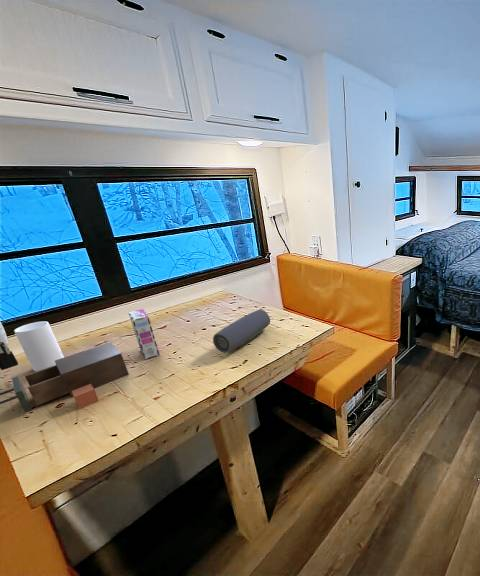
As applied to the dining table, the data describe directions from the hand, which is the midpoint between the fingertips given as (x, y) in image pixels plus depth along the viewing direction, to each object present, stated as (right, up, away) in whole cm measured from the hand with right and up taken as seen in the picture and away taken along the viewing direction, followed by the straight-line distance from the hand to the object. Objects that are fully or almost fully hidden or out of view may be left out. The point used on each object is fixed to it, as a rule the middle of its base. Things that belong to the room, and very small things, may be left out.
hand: (9, 366), depth 85 cm
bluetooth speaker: (+48, 0, +41) cm, 63 cm away
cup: (-19, -7, +27) cm, 34 cm away
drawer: (-2, -12, +9) cm, 15 cm away
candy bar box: (+13, -3, +34) cm, 37 cm away
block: (+14, -13, +8) cm, 21 cm away
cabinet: (+7, -9, +19) cm, 22 cm away
